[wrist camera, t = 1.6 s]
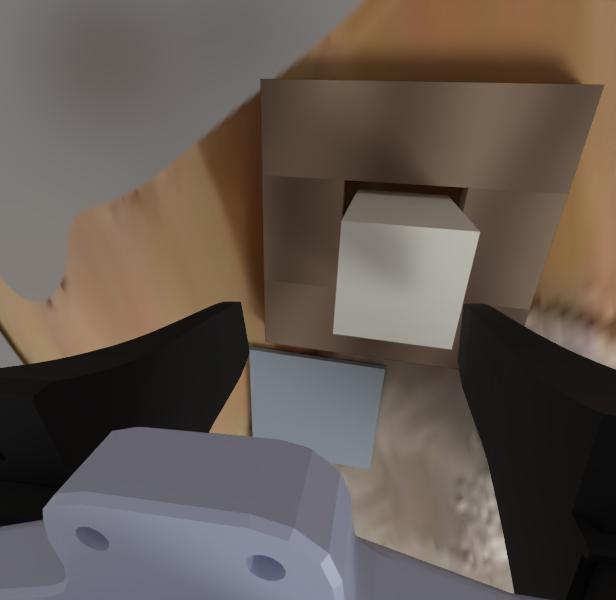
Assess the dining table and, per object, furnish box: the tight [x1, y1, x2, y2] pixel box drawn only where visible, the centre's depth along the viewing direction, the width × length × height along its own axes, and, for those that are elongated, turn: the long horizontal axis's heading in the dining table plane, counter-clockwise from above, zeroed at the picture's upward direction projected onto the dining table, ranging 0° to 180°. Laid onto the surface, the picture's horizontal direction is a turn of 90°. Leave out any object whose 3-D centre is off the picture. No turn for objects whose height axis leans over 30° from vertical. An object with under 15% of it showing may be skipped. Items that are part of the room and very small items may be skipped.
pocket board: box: [260, 79, 604, 369], centre depth 19 cm, size 14×14×2 cm
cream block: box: [333, 189, 480, 350], centre depth 16 cm, size 4×4×8 cm
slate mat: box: [249, 347, 385, 470], centre depth 26 cm, size 9×9×1 cm
